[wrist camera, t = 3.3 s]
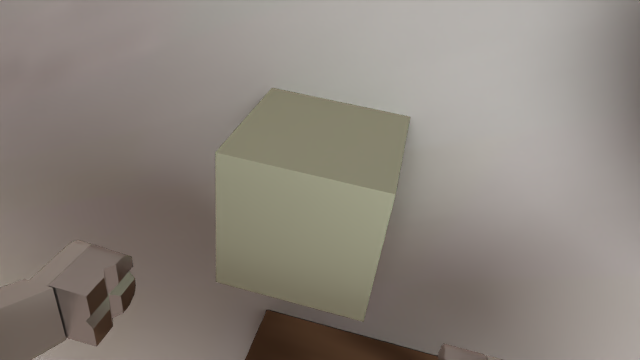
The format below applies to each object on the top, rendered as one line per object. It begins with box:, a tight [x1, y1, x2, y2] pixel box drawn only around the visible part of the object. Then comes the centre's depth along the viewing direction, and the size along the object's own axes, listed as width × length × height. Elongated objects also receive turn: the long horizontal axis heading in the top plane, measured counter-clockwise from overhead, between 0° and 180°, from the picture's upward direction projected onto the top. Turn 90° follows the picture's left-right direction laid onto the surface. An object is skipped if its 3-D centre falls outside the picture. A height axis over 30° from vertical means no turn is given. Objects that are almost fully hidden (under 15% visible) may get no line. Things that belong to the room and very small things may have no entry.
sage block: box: [215, 88, 410, 322], centre depth 16 cm, size 5×5×5 cm
